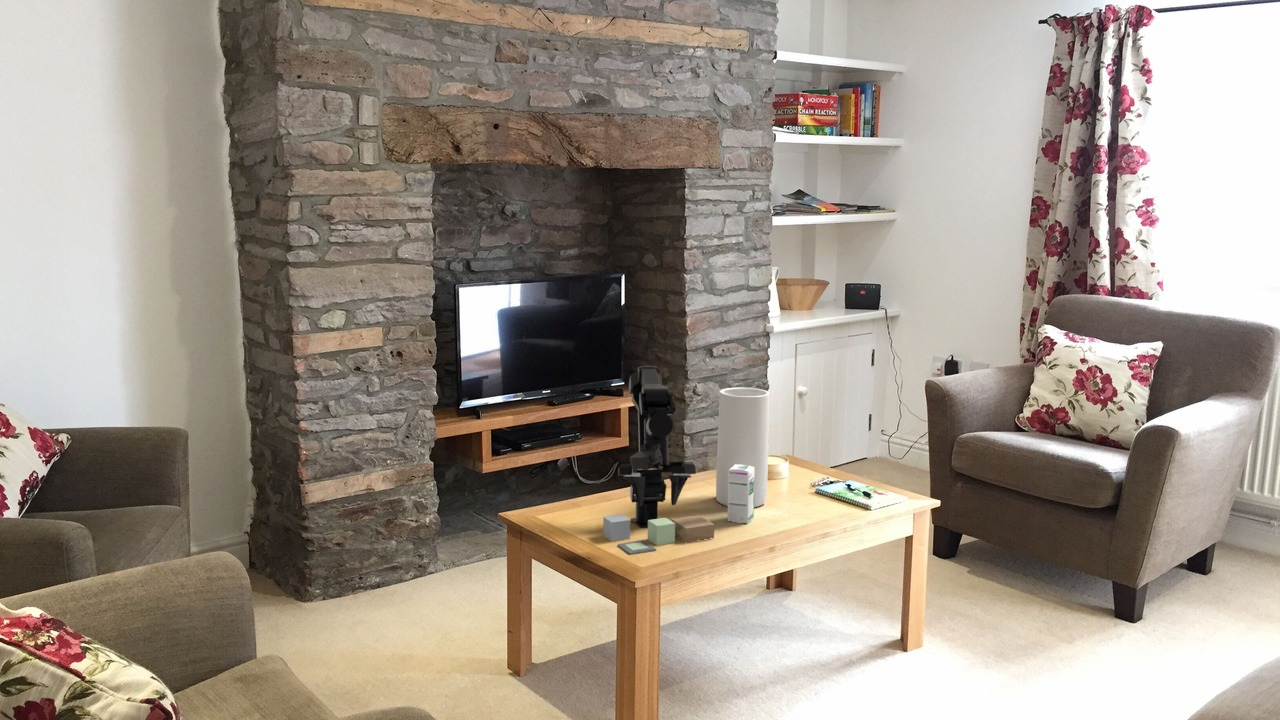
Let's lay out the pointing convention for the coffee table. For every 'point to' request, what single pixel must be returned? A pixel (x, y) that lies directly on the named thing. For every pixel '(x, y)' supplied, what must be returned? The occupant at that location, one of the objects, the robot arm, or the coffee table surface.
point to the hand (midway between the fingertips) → (657, 505)
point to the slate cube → (616, 527)
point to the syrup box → (741, 493)
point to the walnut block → (693, 528)
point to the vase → (743, 438)
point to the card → (636, 547)
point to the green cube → (661, 531)
